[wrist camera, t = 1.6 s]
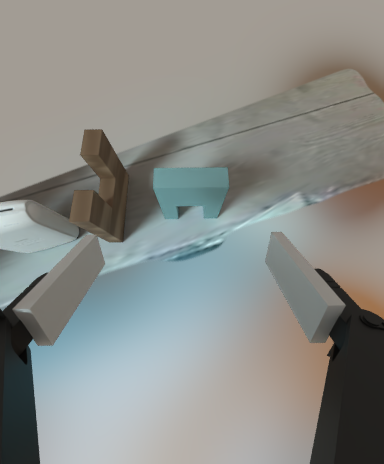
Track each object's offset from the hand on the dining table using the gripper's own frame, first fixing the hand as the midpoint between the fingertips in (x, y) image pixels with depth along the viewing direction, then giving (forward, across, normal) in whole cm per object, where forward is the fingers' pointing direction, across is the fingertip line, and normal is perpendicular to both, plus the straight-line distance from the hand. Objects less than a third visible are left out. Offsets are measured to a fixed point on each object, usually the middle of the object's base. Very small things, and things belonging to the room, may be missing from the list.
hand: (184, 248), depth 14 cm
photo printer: (+18, -26, -10) cm, 33 cm away
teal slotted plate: (+22, 0, -6) cm, 23 cm away
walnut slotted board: (+22, -14, -5) cm, 27 cm away
